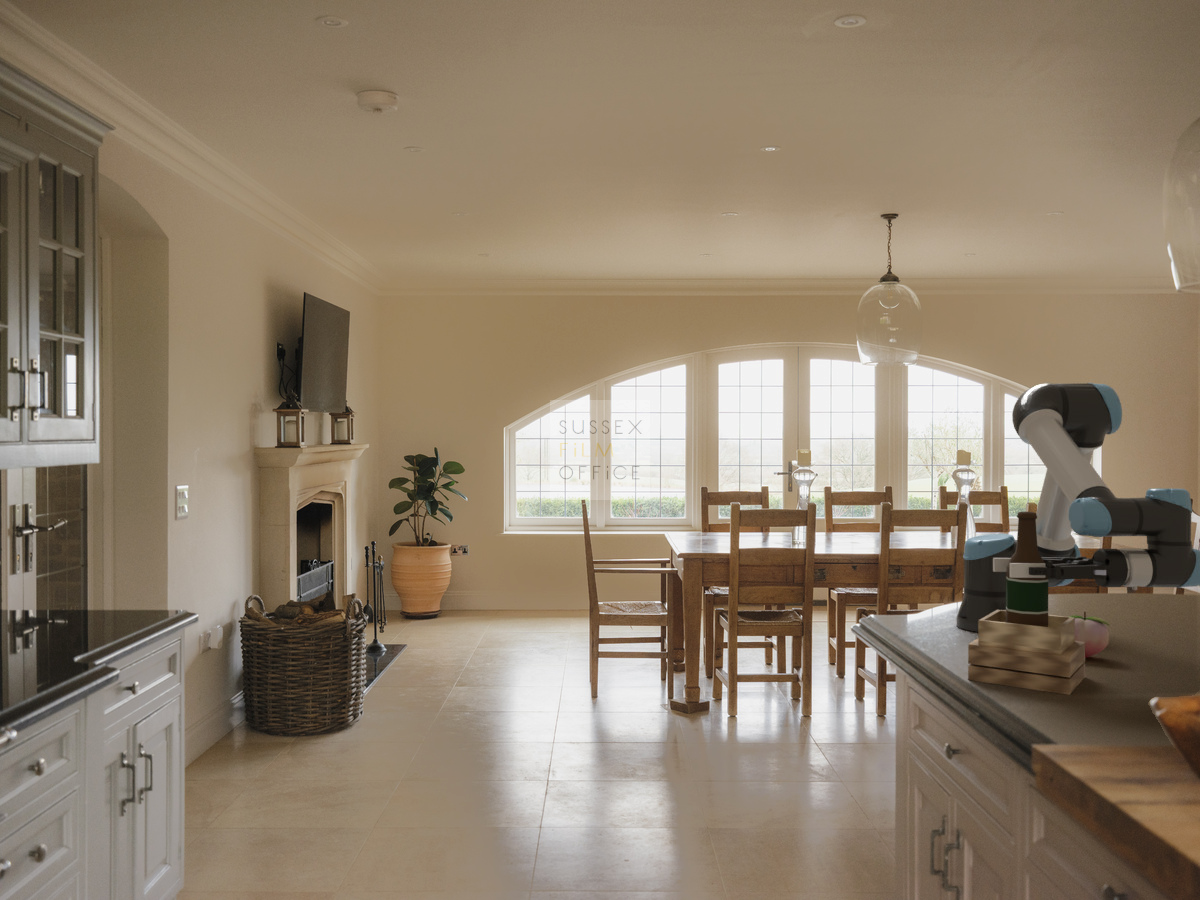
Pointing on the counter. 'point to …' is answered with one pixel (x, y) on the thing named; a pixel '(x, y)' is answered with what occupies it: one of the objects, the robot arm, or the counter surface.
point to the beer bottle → (1026, 579)
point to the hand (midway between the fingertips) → (1002, 567)
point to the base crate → (1028, 667)
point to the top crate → (1027, 634)
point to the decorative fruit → (1091, 633)
